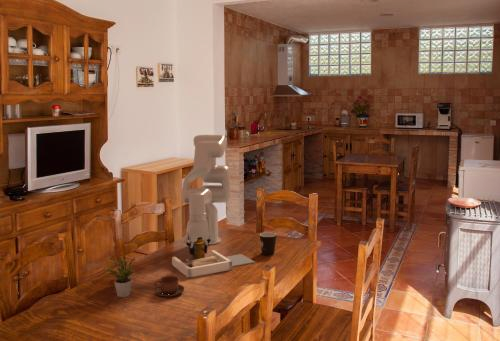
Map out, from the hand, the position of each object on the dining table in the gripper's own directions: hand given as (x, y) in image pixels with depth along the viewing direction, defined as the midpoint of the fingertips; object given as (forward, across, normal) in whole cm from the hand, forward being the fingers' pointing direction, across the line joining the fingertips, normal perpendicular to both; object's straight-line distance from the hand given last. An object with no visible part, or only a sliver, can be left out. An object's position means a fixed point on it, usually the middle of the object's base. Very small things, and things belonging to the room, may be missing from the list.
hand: (198, 253), depth 260 cm
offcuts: (+6, 0, +8) cm, 10 cm away
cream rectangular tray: (+5, 0, +5) cm, 7 cm away
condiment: (+3, +1, 0) cm, 3 cm away
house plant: (+5, +41, +19) cm, 46 cm away
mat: (+6, -19, +5) cm, 20 cm away
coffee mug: (+6, -39, +1) cm, 39 cm away
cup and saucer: (+5, +25, +28) cm, 38 cm away
